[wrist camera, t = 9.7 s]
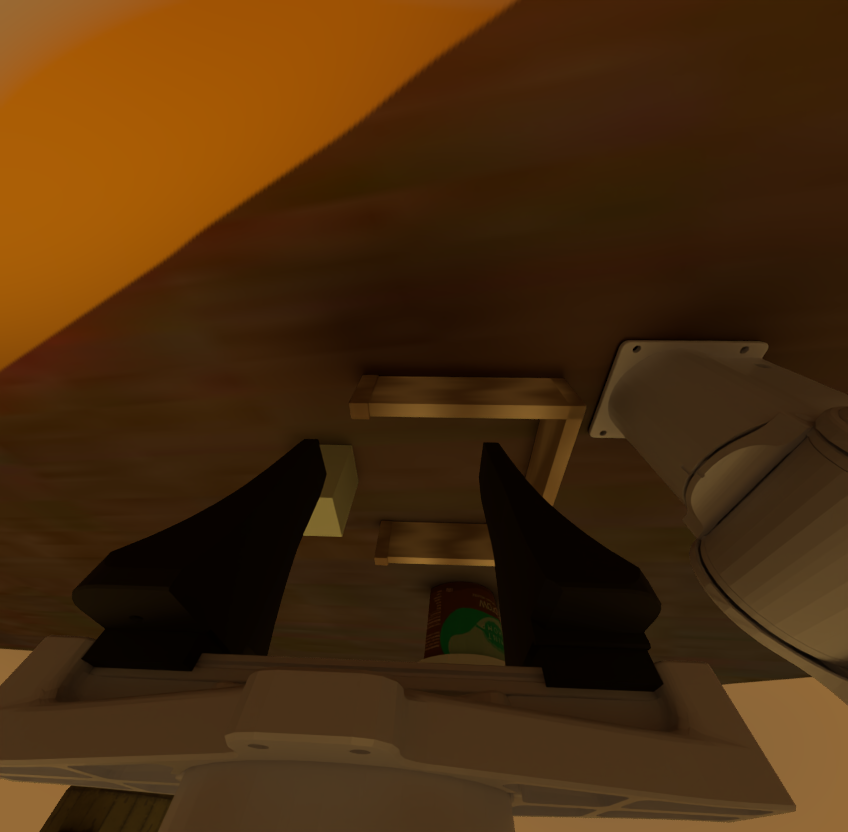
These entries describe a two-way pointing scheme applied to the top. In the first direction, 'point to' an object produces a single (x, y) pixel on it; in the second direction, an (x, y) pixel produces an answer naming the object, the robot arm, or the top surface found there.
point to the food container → (463, 626)
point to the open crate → (471, 400)
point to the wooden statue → (108, 811)
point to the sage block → (334, 492)
